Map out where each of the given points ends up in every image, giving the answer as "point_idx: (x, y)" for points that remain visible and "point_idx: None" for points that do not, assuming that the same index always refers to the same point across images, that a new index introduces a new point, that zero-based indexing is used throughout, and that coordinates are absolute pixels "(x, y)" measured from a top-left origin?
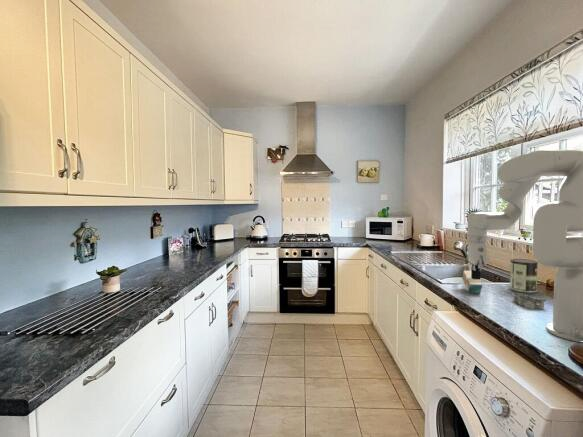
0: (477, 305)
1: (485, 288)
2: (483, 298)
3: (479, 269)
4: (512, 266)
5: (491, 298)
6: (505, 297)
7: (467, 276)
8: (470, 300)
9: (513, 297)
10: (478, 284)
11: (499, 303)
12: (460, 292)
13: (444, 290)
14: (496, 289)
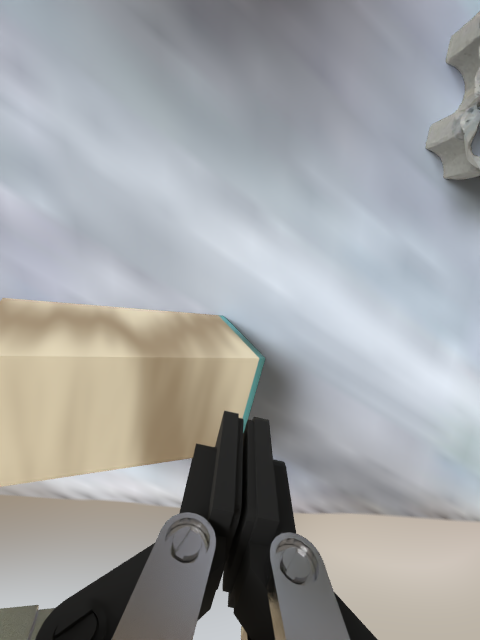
0: (461, 477)
1: (75, 176)
2: (345, 368)
3: (345, 615)
4: None
5: (354, 312)
6: (346, 174)
7: (113, 461)
8: (371, 466)
9: (472, 174)
10: (250, 387)
11: (465, 328)
12: None
13: (161, 504)
14: (97, 76)
